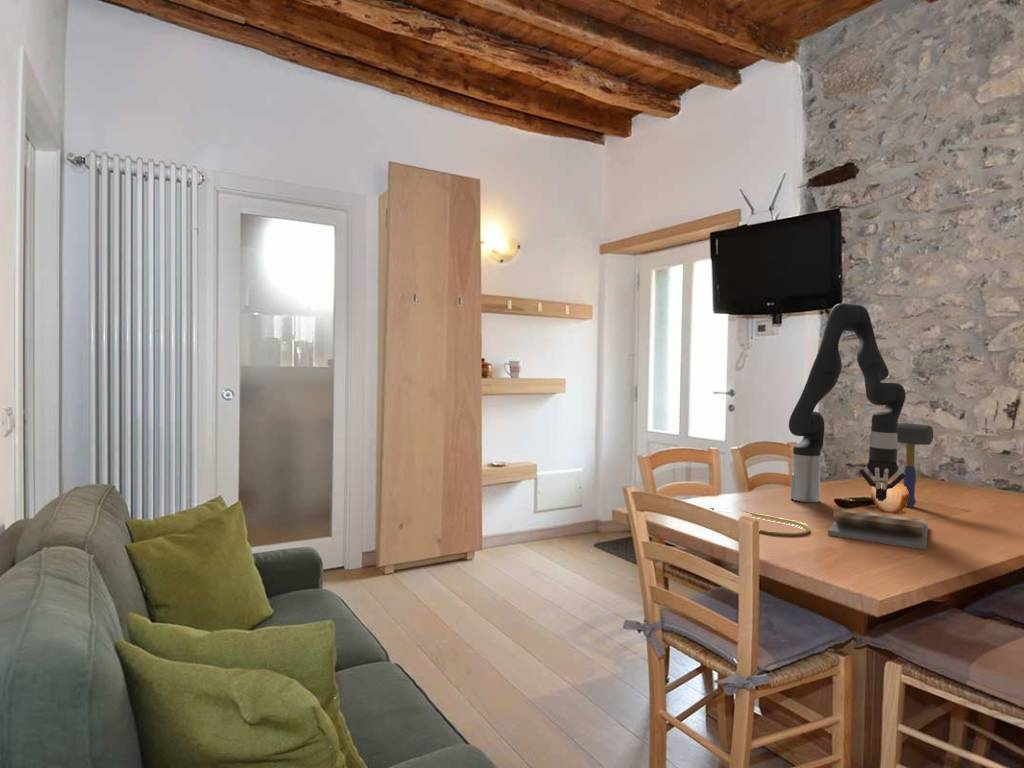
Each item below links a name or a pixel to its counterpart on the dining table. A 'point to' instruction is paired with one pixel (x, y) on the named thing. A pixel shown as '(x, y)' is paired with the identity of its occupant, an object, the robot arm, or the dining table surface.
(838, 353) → the robot arm
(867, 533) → the panel
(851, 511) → the far plank
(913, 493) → the rubber mallet
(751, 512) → the serving platter
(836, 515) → the near plank
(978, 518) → the dining table surface
